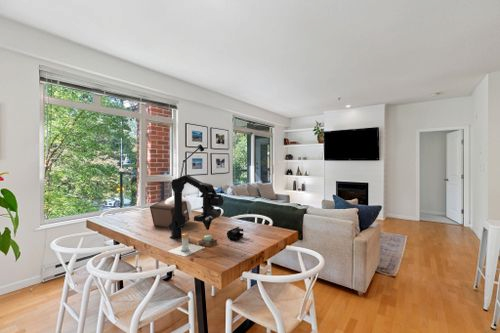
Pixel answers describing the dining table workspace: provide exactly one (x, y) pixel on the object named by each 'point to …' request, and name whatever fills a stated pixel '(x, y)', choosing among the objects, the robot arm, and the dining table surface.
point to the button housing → (208, 244)
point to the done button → (208, 238)
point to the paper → (191, 250)
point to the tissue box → (168, 211)
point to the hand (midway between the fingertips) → (207, 229)
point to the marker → (185, 242)
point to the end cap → (235, 234)
